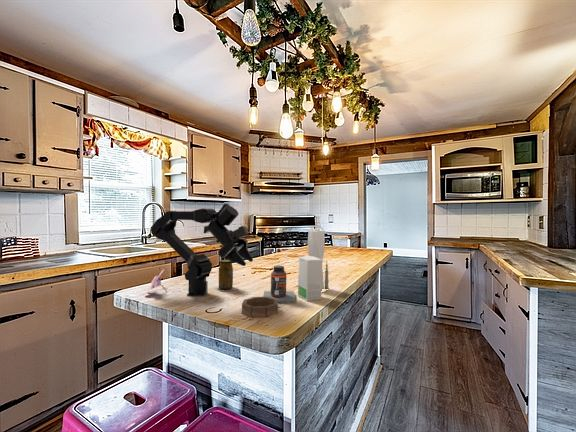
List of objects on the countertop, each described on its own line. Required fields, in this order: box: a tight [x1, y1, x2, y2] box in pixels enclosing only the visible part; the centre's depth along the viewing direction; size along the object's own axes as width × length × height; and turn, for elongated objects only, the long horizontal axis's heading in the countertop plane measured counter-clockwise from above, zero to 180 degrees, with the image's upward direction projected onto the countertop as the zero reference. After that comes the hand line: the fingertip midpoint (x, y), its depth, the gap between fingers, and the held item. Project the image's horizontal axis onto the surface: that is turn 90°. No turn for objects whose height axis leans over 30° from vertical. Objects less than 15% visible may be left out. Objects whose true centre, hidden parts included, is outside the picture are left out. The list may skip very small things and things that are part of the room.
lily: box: [144, 269, 168, 297], centre depth 114 cm, size 12×12×10 cm
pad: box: [262, 290, 296, 304], centre depth 108 cm, size 12×12×1 cm
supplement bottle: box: [270, 265, 287, 297], centre depth 108 cm, size 6×6×11 cm
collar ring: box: [241, 296, 279, 318], centre depth 94 cm, size 12×12×3 cm
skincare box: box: [297, 255, 324, 302], centre depth 109 cm, size 8×7×16 cm
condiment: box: [214, 259, 239, 292], centre depth 122 cm, size 7×8×12 cm
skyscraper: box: [307, 225, 330, 291], centre depth 120 cm, size 8×8×28 cm
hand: (248, 263), depth 108 cm, fingers open, 9 cm apart
